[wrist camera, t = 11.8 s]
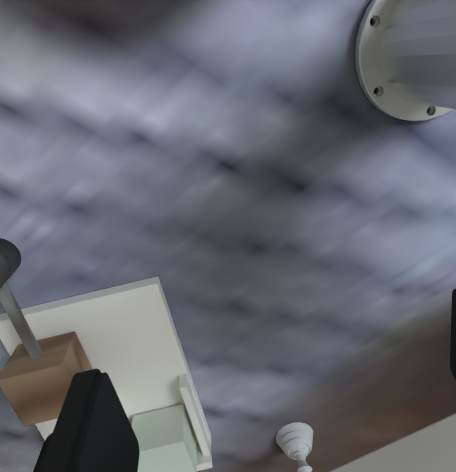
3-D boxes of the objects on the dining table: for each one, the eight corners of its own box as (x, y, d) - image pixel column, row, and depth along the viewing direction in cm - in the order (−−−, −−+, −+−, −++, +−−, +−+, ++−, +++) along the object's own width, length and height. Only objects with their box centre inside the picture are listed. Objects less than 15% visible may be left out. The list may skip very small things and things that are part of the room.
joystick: (-39, 243, 35) (-77, 273, 30) (26, 227, 35) (-1, 255, 30) (41, 388, 43) (21, 432, 37) (95, 374, 43) (82, 417, 37)
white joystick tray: (-3, 314, 40) (-36, 359, 34) (158, 276, 41) (153, 313, 34) (81, 465, 50) (67, 522, 44) (210, 434, 50) (214, 486, 44)
